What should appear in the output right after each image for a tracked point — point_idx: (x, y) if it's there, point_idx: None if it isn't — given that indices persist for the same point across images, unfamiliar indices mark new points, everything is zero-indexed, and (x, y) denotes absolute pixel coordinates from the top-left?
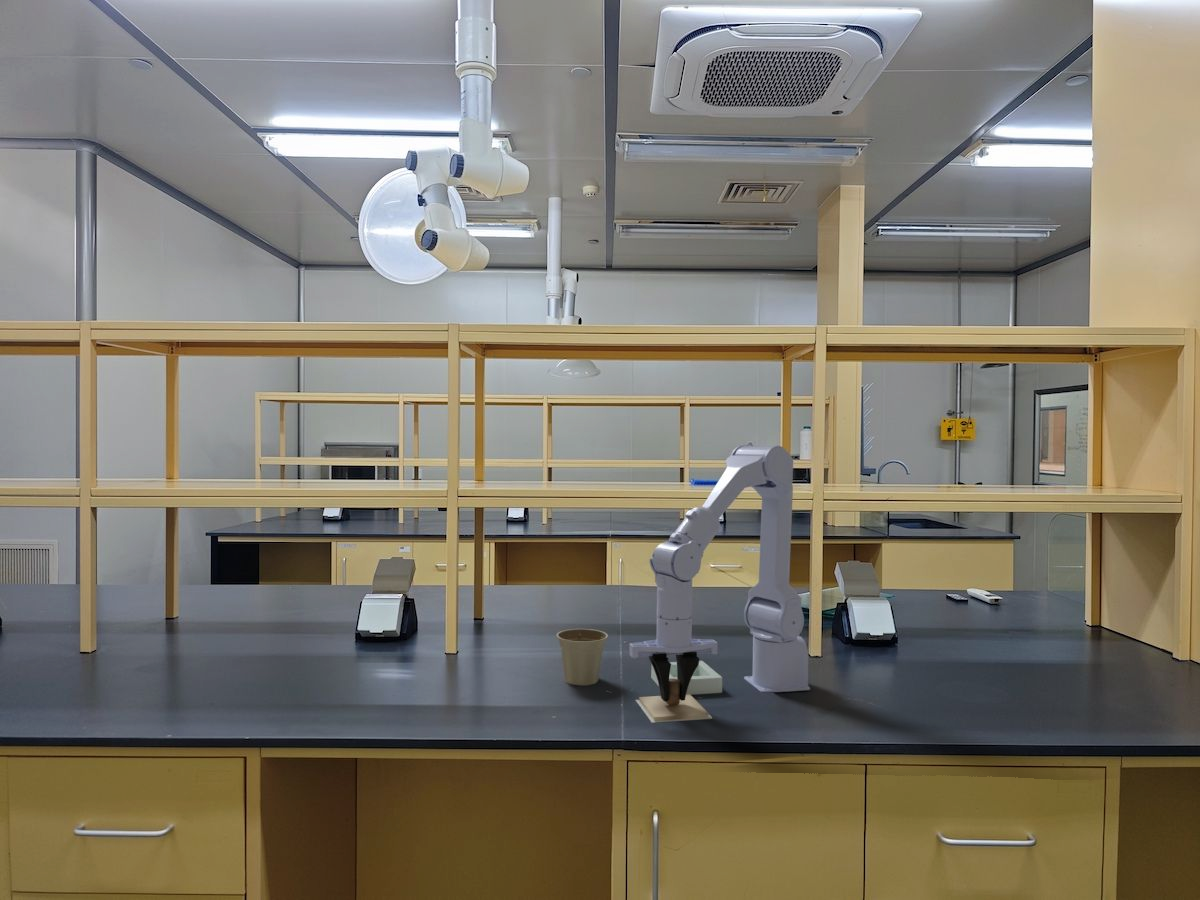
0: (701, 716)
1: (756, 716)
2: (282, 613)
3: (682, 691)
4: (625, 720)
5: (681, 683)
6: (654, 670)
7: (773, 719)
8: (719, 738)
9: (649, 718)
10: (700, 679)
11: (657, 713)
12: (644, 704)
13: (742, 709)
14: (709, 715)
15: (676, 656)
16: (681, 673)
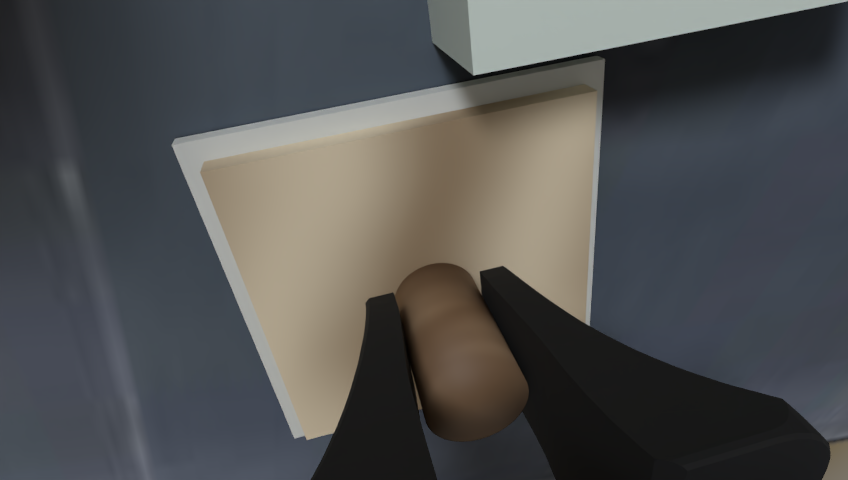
0: None
1: (783, 284)
2: None
3: None
4: (147, 402)
5: (529, 397)
6: (331, 442)
7: (823, 305)
8: (543, 473)
9: (282, 404)
10: (770, 13)
11: (327, 400)
12: (249, 296)
13: (781, 211)
14: None
15: (633, 457)
16: (562, 452)
